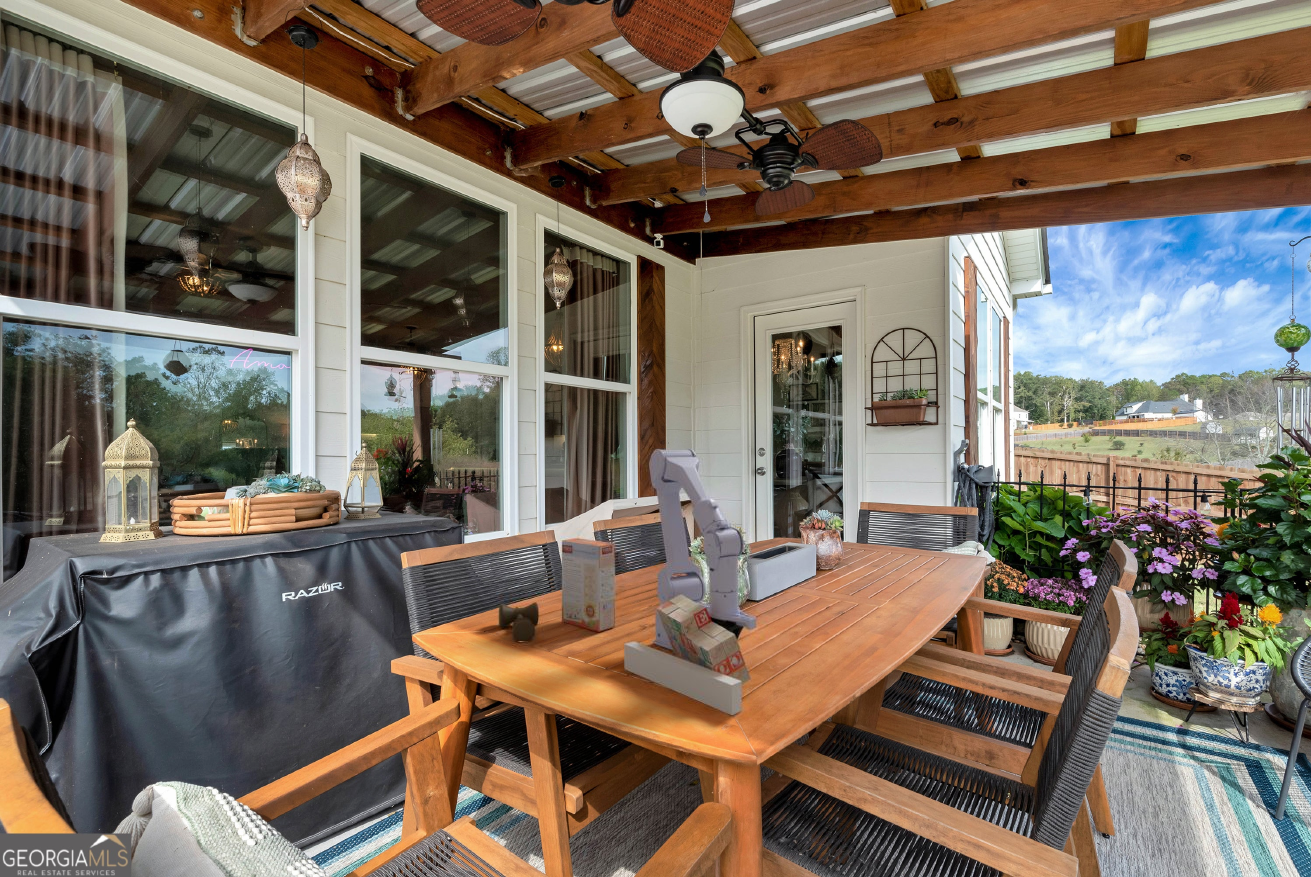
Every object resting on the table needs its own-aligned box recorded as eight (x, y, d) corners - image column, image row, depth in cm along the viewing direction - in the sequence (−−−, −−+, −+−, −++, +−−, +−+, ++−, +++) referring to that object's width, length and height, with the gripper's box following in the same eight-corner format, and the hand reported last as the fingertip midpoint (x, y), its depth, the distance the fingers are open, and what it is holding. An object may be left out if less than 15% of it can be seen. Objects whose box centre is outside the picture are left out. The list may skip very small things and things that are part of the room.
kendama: (501, 647, 134) (496, 620, 153) (545, 644, 137) (534, 617, 156) (502, 621, 134) (497, 597, 153) (545, 618, 137) (535, 595, 156)
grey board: (624, 668, 119) (624, 643, 119) (633, 665, 121) (633, 641, 121) (732, 715, 99) (731, 685, 99) (741, 710, 100) (741, 681, 100)
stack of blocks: (752, 679, 108) (729, 619, 106) (724, 697, 105) (700, 636, 104) (700, 644, 128) (680, 593, 126) (675, 659, 125) (655, 607, 124)
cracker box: (616, 627, 147) (616, 542, 147) (598, 633, 142) (598, 545, 142) (578, 616, 156) (578, 536, 156) (560, 621, 151) (560, 539, 152)
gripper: (765, 591, 116) (766, 660, 117) (710, 579, 127) (711, 642, 127) (742, 599, 112) (743, 671, 112) (687, 585, 122) (688, 651, 122)
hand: (724, 656), depth 119 cm, fingers closed
